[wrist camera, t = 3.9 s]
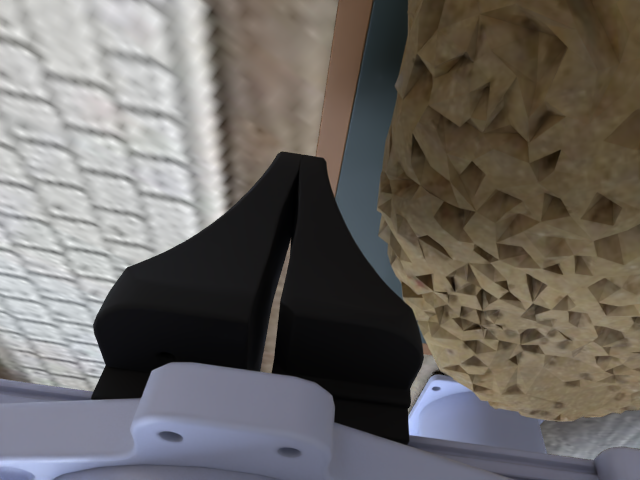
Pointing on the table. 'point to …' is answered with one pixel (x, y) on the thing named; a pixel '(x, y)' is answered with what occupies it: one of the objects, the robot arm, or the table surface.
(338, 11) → the chalkboard
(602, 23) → the sponge
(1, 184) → the table surface
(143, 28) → the table surface
